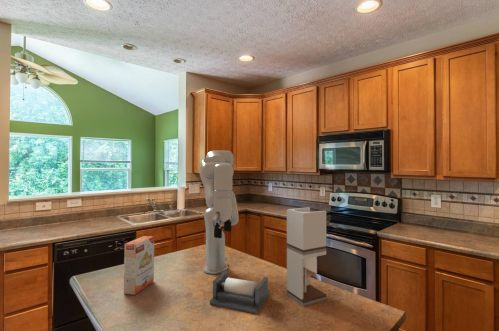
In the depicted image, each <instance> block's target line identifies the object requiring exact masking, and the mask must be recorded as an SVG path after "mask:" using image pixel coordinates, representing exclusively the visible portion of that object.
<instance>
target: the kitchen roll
mask: <svg viewBox="0 0 499 331" xmlns="http://www.w3.org/2000/svg"><path fill="white" fill-rule="evenodd" d="M257 285H258V282H257V281H252V280H245V279H240V278H233V277H228V278H227V279H226V281H225V284H224V292H225V293H229V294H235V295H240V296H246V297H251V298H255V288H256V286H257Z"/></svg>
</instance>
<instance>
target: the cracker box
mask: <svg viewBox="0 0 499 331" xmlns="http://www.w3.org/2000/svg"><path fill="white" fill-rule="evenodd" d="M123 247H124V251H123V252H124V253H123V254H124V255H123V256H124V259H123V294H124V295H130V296H136V295H138V294H139V293H141V292H142V291H143V290H145V288H147V287H149V285H151V284H152V283H153V282H154V278H155V276H154V270H155V266H154V265H155V236H151V235H149V236H148V235H143V236H140V237H139V238H135V239H133V240H131V241H128V242H126V243H124V246H123Z"/></svg>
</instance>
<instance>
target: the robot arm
mask: <svg viewBox="0 0 499 331" xmlns="http://www.w3.org/2000/svg"><path fill="white" fill-rule="evenodd" d="M198 171H199V176H200V180H201V182H202V185H203V187H204V196H205V197H204V198H205V204H206V206H207V209H205V211H204V213H203V218H204V225H205V265H204V266H203V267H202V271H203V272H204V273H205V274H210V275H218V274H219V275H220V274H222V273H223V272H224V271H229V270H228V269H229V266H228V265H227V264H226V261H227V260H228V257H227V256H226V252H225V251H226V249H225V248H226V235H225V232H232V226H236V225H237V224H238V223H239V219H240V217H239V210H238V203H237V198H236V195H235V192H234V191H233V176H234V173H235V172H234V153H233V152H232V151H231V150H217V149H216V150H211V151H208V152H207V154H206V155H205V158H204V159H201V162H200V165H199V168H198ZM222 227H223V228H222Z"/></svg>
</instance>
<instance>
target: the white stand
mask: <svg viewBox="0 0 499 331" xmlns="http://www.w3.org/2000/svg"><path fill="white" fill-rule="evenodd" d="M326 255H327V210H318V211H311V207H309V206H308V207H298V208H297V207H296V208H288V209H286V295H287V296H289V297H290V298H292V299H293V301H295V302H297V303H298V304H300V305H301V306H302V307H307V306H310V305H312V304H315V303H319V302H323V301H325V300H327V294H326V293H325V292H324V291H321V290H320V289H318V288H317V287H315V286H313V285H311V276H314V275H317V274H318V259H317V258H318V257H321V256H326Z"/></svg>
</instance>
